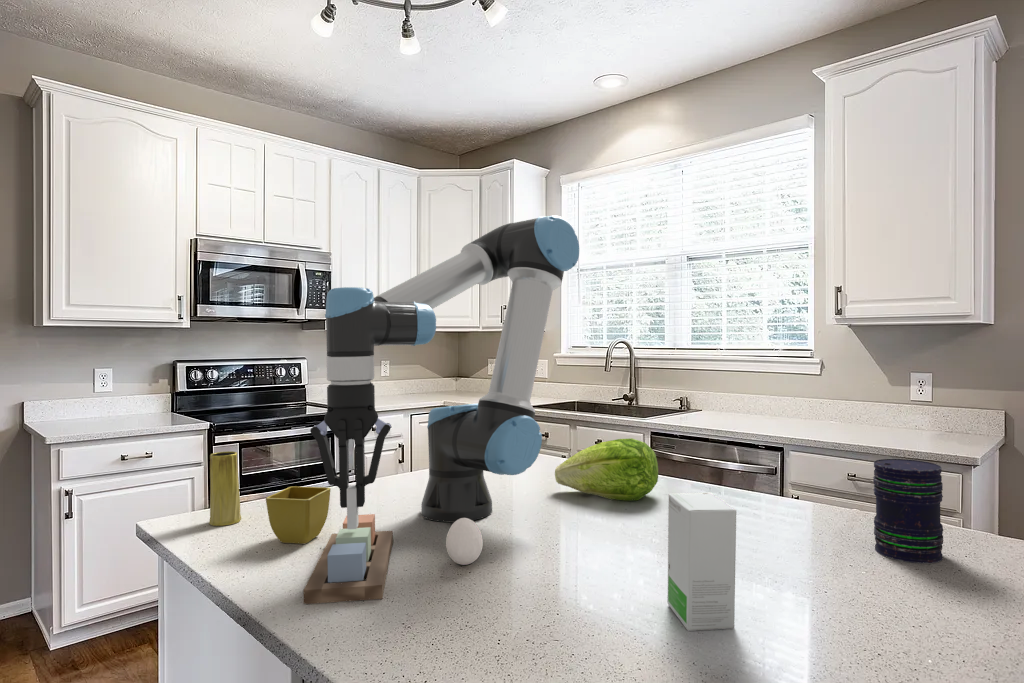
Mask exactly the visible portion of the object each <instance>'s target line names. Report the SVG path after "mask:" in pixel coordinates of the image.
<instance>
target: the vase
mask: <svg viewBox="0 0 1024 683" xmlns="http://www.w3.org/2000/svg"><path fill="white" fill-rule="evenodd" d="M209 460H210V461H209V479H210V486H209V487H210V494H209V497H210V498H209V499H210V500H209V521H208V522H209V523H208V524H209V525H210V526H213V527H226V526H231V525H235V524H237V523H239V522H241V520H242V516H241V499H240V488H239V487H240V482H239V467H238V452H237V451H232V450H229V451H219V452H213V453H210V455H209Z"/></svg>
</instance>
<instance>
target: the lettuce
mask: <svg viewBox="0 0 1024 683" xmlns="http://www.w3.org/2000/svg"><path fill="white" fill-rule="evenodd" d="M554 479H555V483H557V484H558V485H561V486H564V487H568V488H571V489H573V490H576V491H578V492H581V493H583V494H586V495H587V494H588V495H594V496H598V497H600V498H601V497H602V498H605V499H609V500H618V501H624V502H625V501H630V502H631V501H639V500H640V499H643V497H645V496H646V495H648V494H649V493H651V492H652V491H653V489H654V488H655V486H656V485H657V484H658V481H659V465H658V459H657V455H656V452H655V451H654V450H653V449H652V447H650V446H649V445H648V444H647V443H646V442H645V441H642V440H639V439H635V438H618V439H612V440H607V441H602V442H601V441H600V442H598V443H596V444H593V445H590V446H588V447H586V448H584V449H582V450H579V451H578V452H577V453H575V454H573V455H572V456H570V457H568V458H567V459H565V461H562V462H561V463H559V465H557V466H556V467H555V470H554Z"/></svg>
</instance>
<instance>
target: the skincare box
mask: <svg viewBox="0 0 1024 683" xmlns="http://www.w3.org/2000/svg"><path fill="white" fill-rule="evenodd" d="M667 520H668V522H667V523H668V524H667V525H668V526H667V527H668V528H667V532H668V533H667V534H668V535H667V536H668V537H667V597H666V598H667V605H668V606H669V608H670V609H671V611H672V612H673V613H674V614H675V616H677V618H678V620H679V621H680V622H681V623H682V625H683V626H684V627H685V629H686V630H687V631H688V632H697V631H709V630H712V631H715V630H731V629H735V607H736V606H735V605H736V604H735V603H736V601H735V598H736V597H735V596H736V558H737V557H736V552H737V550H736V549H737V509H735V508H733V507H732V506H731V505H730V504H728V503H727V501H726V500H724V499H722V498H720V497H718V496H716V494H714V493H712V492H710V491H709V492H707V491H706V492H684V493H683V492H681V493H680V492H678V493H668V519H667Z"/></svg>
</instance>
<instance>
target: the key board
mask: <svg viewBox="0 0 1024 683" xmlns="http://www.w3.org/2000/svg"><path fill="white" fill-rule="evenodd" d="M337 534H338V533H332V534H331V535H330V537H329V539H328V540H327V542H326V545H325V547H324V548H323V551H322V553H321V554H320V557H319V558H318V561H317V563H316V564H315V567H313V568H314V569H313V571H312V572H311V575H310V576H309V578H308V580H307V582H306V584H305V586H304V588H303V590H302V594H303V605H310V604H311V605H312V604H327V603H329V604H330V603H339V602H355V601H356V602H357V601H372V600H383V599H384V592H385V588H386V582H387V577H388V571H389V566H390V560H391V554H392V550H393V546H394V530H379V531H378V530H377V531H376V530H375V539H374V543H373V545H371V553H370V557H369V560H368V561H367V562H366V571H365V575H364V578H363V580H362V581H347V582H331V583H328V557H327V555H328V553H329V551H330V549H331V547H332V545H333V544H336V537H337Z"/></svg>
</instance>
